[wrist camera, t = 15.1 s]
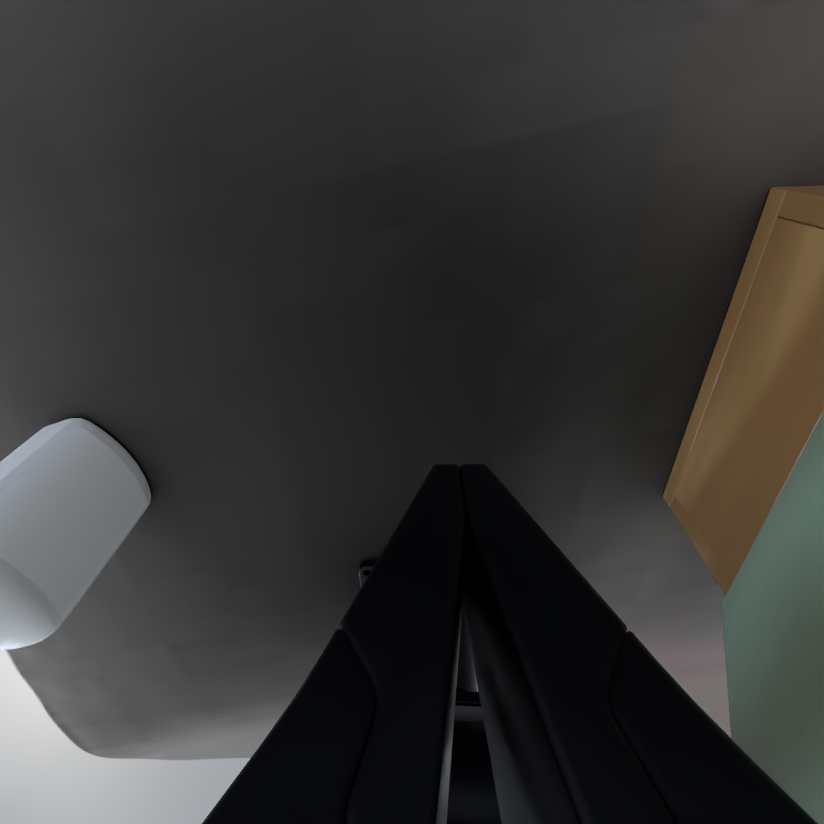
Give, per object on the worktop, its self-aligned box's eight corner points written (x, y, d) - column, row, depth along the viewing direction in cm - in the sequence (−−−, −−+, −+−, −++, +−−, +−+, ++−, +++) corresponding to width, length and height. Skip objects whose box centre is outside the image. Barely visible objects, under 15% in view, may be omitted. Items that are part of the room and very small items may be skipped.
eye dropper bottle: (142, 422, 21) (-131, 709, 11) (157, 511, 24) (-43, 801, 14) (41, 407, 20) (-338, 687, 10) (70, 499, 23) (-202, 786, 13)
